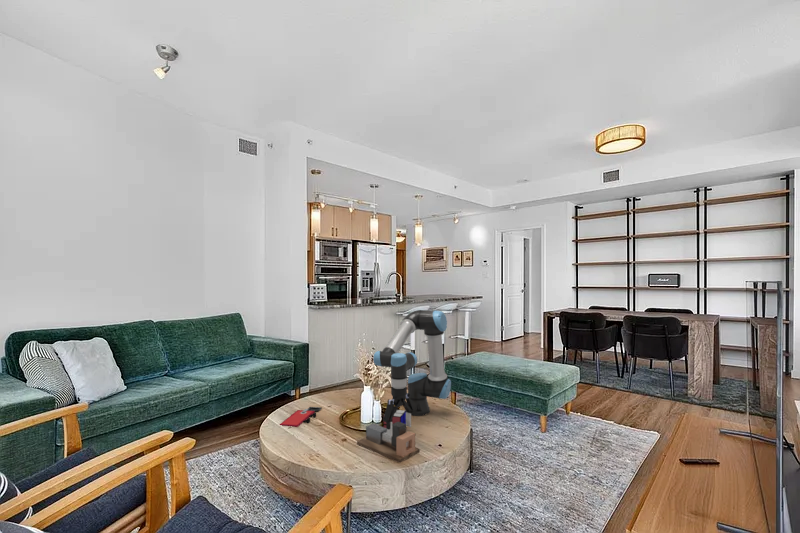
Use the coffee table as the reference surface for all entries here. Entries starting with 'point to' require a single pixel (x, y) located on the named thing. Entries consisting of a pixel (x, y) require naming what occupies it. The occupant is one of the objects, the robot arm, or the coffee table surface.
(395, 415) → the puzzle cube
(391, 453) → the walnut base board
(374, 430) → the grey stepped block
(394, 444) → the slip bar
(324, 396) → the coffee table surface
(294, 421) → the red board with handle
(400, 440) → the terracotta socket
